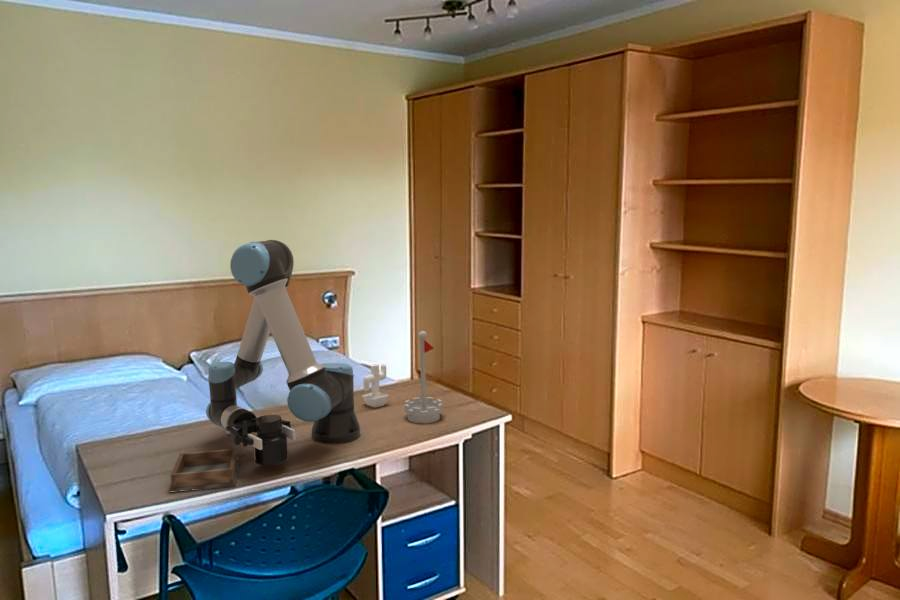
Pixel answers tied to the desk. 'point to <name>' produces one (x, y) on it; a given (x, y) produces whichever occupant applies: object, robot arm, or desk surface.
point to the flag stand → (423, 394)
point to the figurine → (375, 387)
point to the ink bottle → (270, 441)
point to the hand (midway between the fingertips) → (277, 439)
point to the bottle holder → (205, 470)
